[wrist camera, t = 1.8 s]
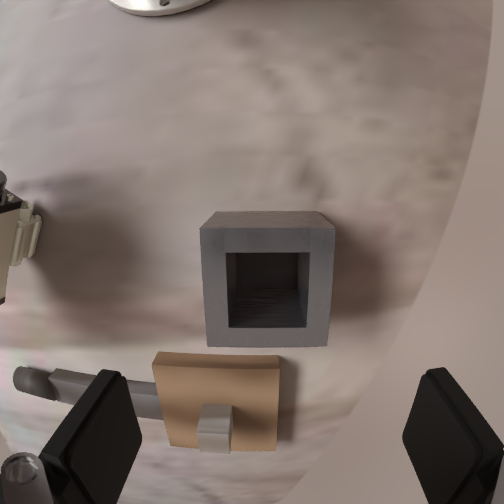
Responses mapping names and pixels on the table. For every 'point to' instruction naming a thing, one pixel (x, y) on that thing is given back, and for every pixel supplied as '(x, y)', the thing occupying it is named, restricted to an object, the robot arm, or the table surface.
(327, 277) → the hollow grey cube
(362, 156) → the table surface
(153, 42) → the table surface
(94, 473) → the robot arm
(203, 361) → the mallet
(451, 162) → the table surface
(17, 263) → the pneumatic valve
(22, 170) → the table surface
